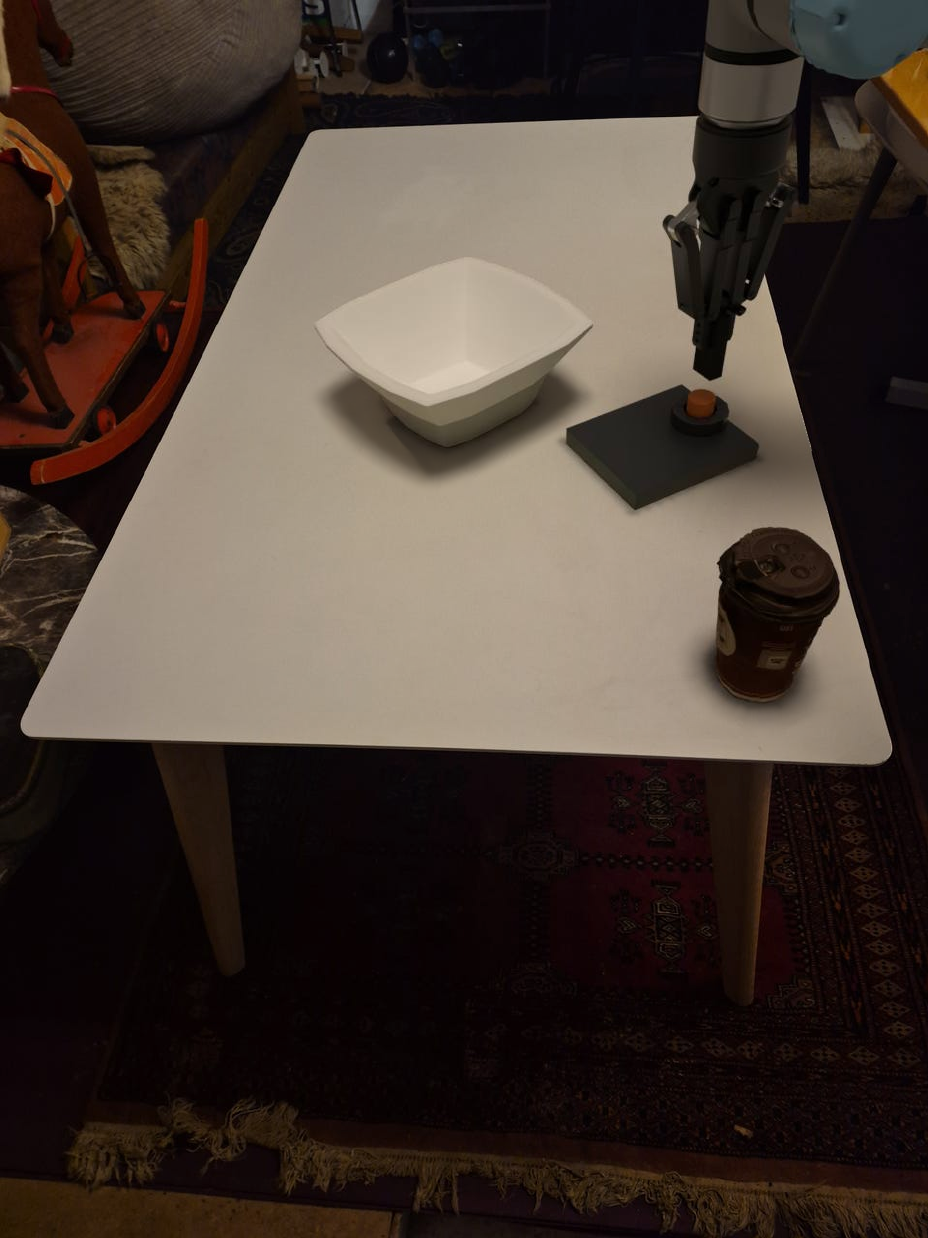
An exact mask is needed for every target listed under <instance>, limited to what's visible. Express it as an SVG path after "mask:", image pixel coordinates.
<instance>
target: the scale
mask: <svg viewBox="0 0 928 1238" xmlns="http://www.w3.org/2000/svg"><path fill="white" fill-rule="evenodd" d="M691 391H692V390H691V389H689V388H688V387H686V386H685V385H684V384H679V385H676V386H673V387H671V388H668V389H665V390H663V391H660V392H657V393H655V394H652V395H650V396H647V397H645V398H642V399H639V400H635V401H634V402H631V403H629V404H626V405H624V406H621V407H619V408H615V409H613V410H611V411H607V412H606V413H603V414H600V415H597V416H595V417H592V418H590V419H587V420H585V421H582V422H579V423H576V424H574V425H571V426H569V427H566V428H565V436H566V437H565V443H566V444H567V445H568V447H570V448H571V449H572V450H573V451H574V452H575V453H576V454H577V455H578V456H579V457H580V458H581V459H582V460H583V461H584V462H586V464H587V465H588V466H590V468H592V469H593V470H594V471H595V473H597V474H598V476H600V477H601V478H602V479H603V480H604V481H605V482H606V483H607V484H608V485H609V486H610V487H611V488H612V489H613V490H614V491H615V492H616V493H617V494H618V495H619V496H620V497H621V498H622V499H623V500H624V501H625V502H626V503H627V504H628V505H629V506H630V507H632V508H633V509H634V510H637V509H641V508H642V507H645V506H647V505H650V504H651V503H652V504H653V503H655V502H657V501H659V500H661V499H664V498H666V497H668V496H671V495H673V494H677V493H678V492H680V491H684V490H686V489H689V488H690V487H693V486H695V485H697V484H699V483H702V482H704V481H706V480H709V479H711V478H714V477H716V476H719V475H721V474H723V473H725V472H728V471H730V470H732V469H735V468H737V467H740V466H742V465H745V464H747V463H750V462H752V461H754V460H756V459H758V453H759V449H760V445H761V444H760V443H759V442H758V441H757V440H755V439H754V438H753V437H751V436H750V435H749V434H747V432H745V431H744V430H742V429H741V428H740V427H738V426H737V425H736V424H734V423H733V422H732V421H731V420H730V419H729V416H730V409H729V404H728V402H726V401H725V400H724V399H722V397H720V396H719V395H717V394H715V396H716V401H715V407H714V412H713V414H712V415H711V416H709V417H704V418H697V417H693V416H690V415H689V414H688V413H687V411H686V408H687V400H688V395H689V393H690V392H691Z"/></svg>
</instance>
